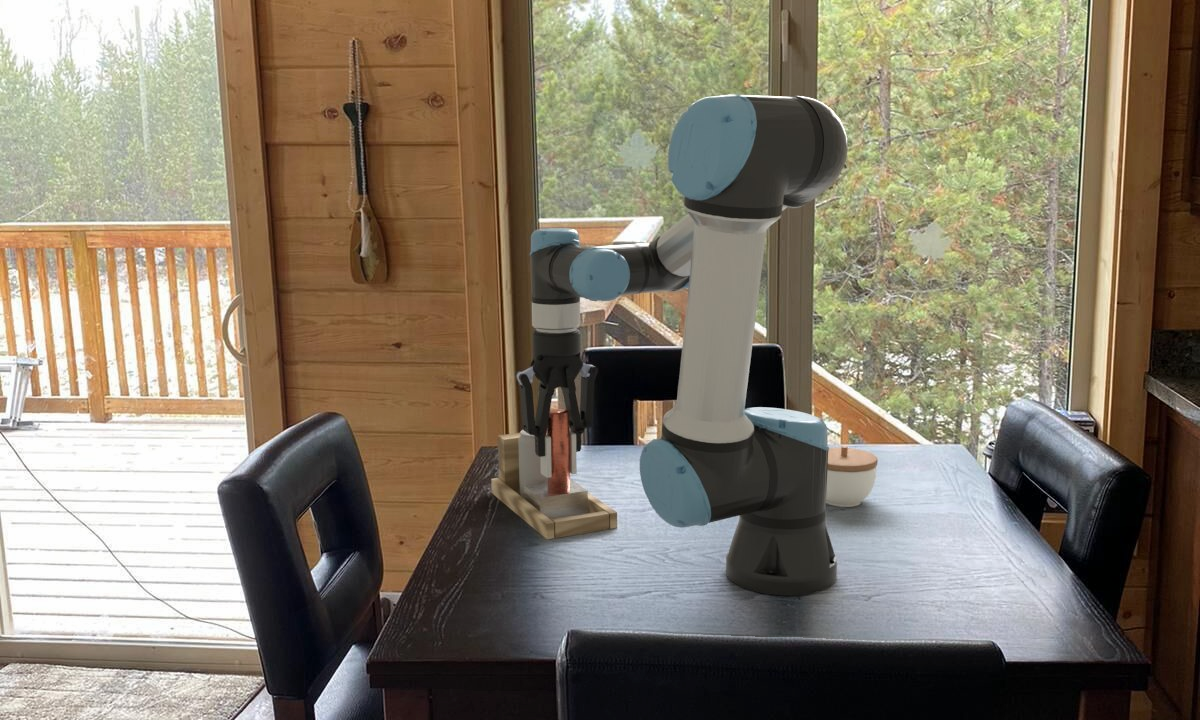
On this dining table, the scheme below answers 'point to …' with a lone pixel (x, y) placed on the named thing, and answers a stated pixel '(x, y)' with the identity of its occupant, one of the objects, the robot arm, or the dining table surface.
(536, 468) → the beverage can
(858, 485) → the lidded jar
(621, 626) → the dining table surface
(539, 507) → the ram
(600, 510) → the press frame
